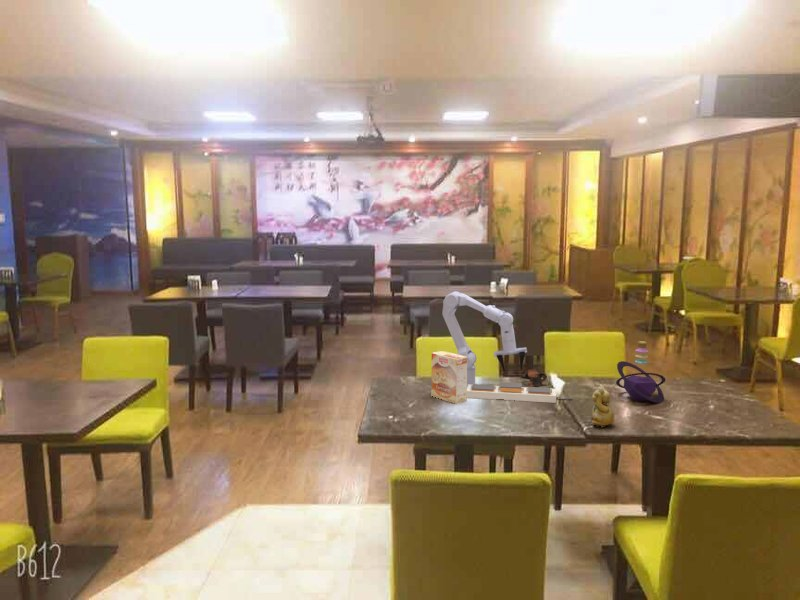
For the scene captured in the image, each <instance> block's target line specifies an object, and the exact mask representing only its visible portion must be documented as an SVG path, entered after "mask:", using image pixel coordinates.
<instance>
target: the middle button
mask: <svg viewBox="0 0 800 600" xmlns="http://www.w3.org/2000/svg"><path fill="white" fill-rule="evenodd" d="M499 386H500V391H508V392H522V387H523V383H522V382H509V381H508V382H504V381H500V383H499Z"/></svg>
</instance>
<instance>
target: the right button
mask: <svg viewBox="0 0 800 600" xmlns="http://www.w3.org/2000/svg"><path fill="white" fill-rule="evenodd" d="M550 389H551V387H541V386H533V387H529V386H528V394H542V395H551V392H550Z"/></svg>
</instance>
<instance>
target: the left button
mask: <svg viewBox="0 0 800 600" xmlns="http://www.w3.org/2000/svg"><path fill="white" fill-rule="evenodd" d="M494 386H495V385H494V384H484V383H483V384H482V383H481V384H480V383H479V384H478V383H476V384H473V386H472V391H486V392H494Z"/></svg>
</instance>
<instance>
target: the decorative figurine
mask: <svg viewBox="0 0 800 600" xmlns="http://www.w3.org/2000/svg"><path fill="white" fill-rule="evenodd" d="M591 399H592V400H593V402H594V403H595V404H594V405H593V406H592V410H591V411H592V412H591V423H592V426H593V425H596V426H595V427H599V426H601V427H600V428H603V427H605V426H606V425H607V426H608V425H611V424H614V422H615V412H614V409H613V407H612V406H611V405H610V399H611V394H610V392H608V391H607V389H606V387H605V386H604V385H603V384H601V383H600V384H599V386H598V387H597V389H596V390H595V391H593V393H592V397H591ZM607 426H606V427H607ZM606 427H605V428H606Z"/></svg>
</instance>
